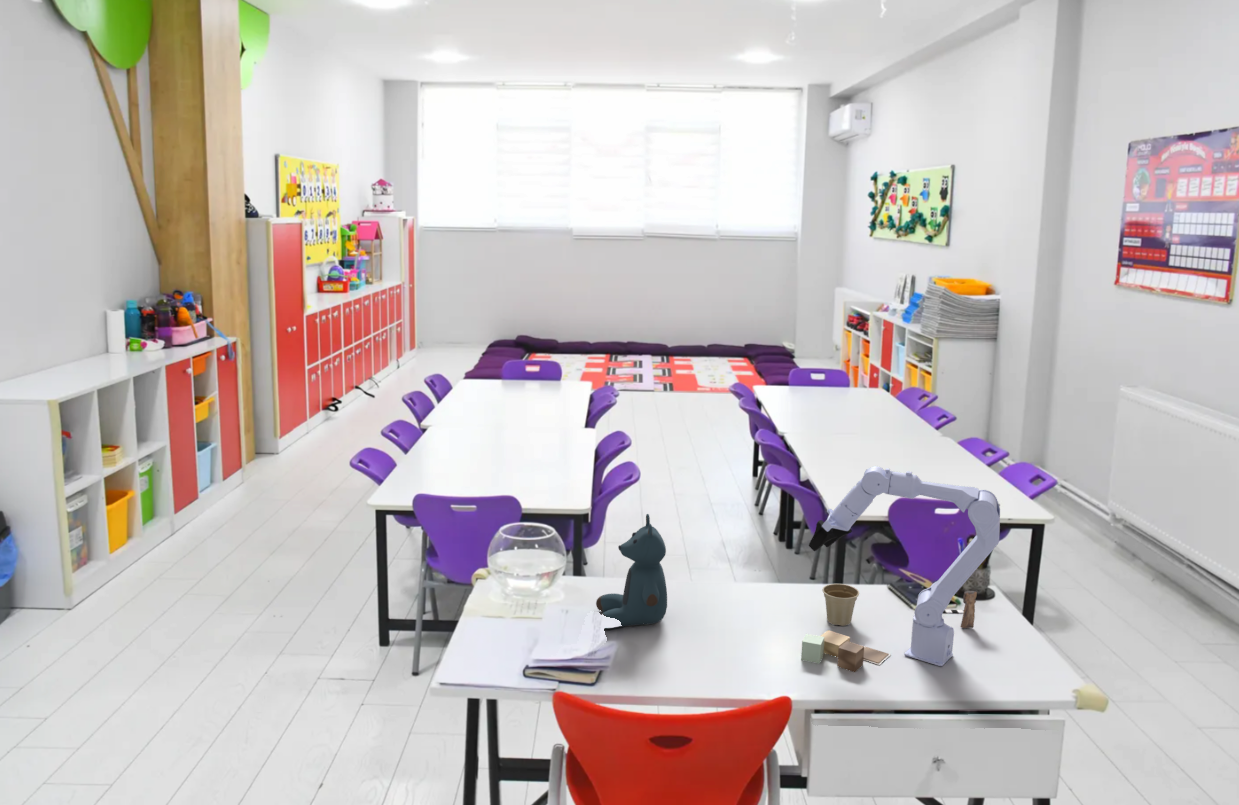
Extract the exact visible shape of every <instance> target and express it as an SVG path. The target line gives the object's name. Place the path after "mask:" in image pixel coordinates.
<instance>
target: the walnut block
mask: <svg viewBox="0 0 1239 805" xmlns="http://www.w3.org/2000/svg"><path fill="white" fill-rule="evenodd" d="M864 647H865V645H861V644H858V643H855V642H851V641H850V642H849V641H846V642H845V643H844V644H842V645H841V646H840V647H839V649H838V658H837V665H836V666H839V667H838V668H840V667H841V669H843V668H844V670H846V669H847V670H846V671H849V670H850V672H853V673H856V672H857V671H858V670H860V669H861V668H862V667H863V666H862V665H864V660H863V658H864ZM861 666H862V667H861Z"/></svg>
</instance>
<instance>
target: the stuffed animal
mask: <svg viewBox="0 0 1239 805" xmlns="http://www.w3.org/2000/svg"><path fill="white" fill-rule="evenodd" d="M617 546H618V550H619V551H620V553H621V555H622V556H623V557H626V558H628V559H629V560H631V561H633V563H632V565H631V566H630V567H629V569H628V570H627V574H626V579H625V583H624V589H623V594H620V593H605V594H603V595H599V597H597V599H596V602H595V605H596V608H597V609H598V611H600V610H601V611H600V612H601V614H603V615H604V616H606V617H610V618H615V619H617V620H619V621H620V622H621V625H622V626H623V627H628V626H637V625H638V626H639V625H640V626H641V625H643V626H644V625H652V624H656V623H659V622H661V621H662V620H663V619H664V617H665V615H666V614H667V608H668V590H667V581H666V576H665V572H664V569H663V566H662V564H661V562H662V561H663V559H664V558H665V557H666V554H667V548H666V543H665V540H664V539H663V537H662V536H661V534H660V532H659V531H658V529H657V528H655V527H654V526H653V525H652V524H651V518H650V514H649V513H647V514H646V515H645V525H644V526H642V527H640V528H639V529H638V530H637V531H636V532H632V534H631V537H630V538H629V539H628V540H627V541H625V542H624V543H621V545H617ZM602 611H603V612H602Z"/></svg>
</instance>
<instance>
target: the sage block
mask: <svg viewBox="0 0 1239 805" xmlns="http://www.w3.org/2000/svg"><path fill="white" fill-rule="evenodd" d="M800 654H801V655H800V656H801V657H800V660H801V661H803V660H804V662H808V661H809V663H813V662H815V664H819V663H820V664H821V662H822V660H823V658H822V657H824V654H825V653H824V637H822V636H821V635H816V634H815V635H814V634H810V633H805V635H804V637H803V639H802V641H801V652H800ZM821 659H822V660H821ZM820 661H821V662H820Z"/></svg>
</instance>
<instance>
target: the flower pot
mask: <svg viewBox="0 0 1239 805" xmlns="http://www.w3.org/2000/svg"><path fill="white" fill-rule="evenodd" d="M821 591H822V592H823V596H824V599H825V610H826V612H825V613H826V620H827V622H828V623H829V624H831V625H834V626H837V625H839V626H841V627H844V626H848V625H850V624H851V623H852V619H853V615H854V614H853V613H854V609H855V606H856V602H857V599H858V597H860V596H859V595H860V591H859V590H858V589H857V588H855V587H854V586H852V585H849V584H844V583H831V584H827V585H824V586H823V587H822V590H821Z"/></svg>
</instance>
